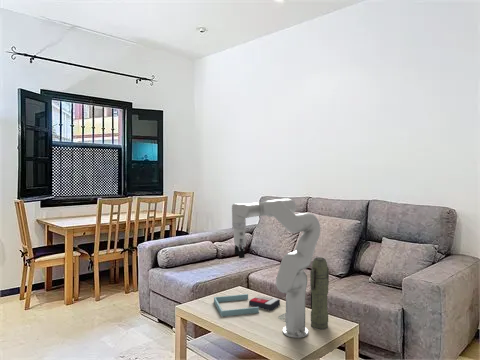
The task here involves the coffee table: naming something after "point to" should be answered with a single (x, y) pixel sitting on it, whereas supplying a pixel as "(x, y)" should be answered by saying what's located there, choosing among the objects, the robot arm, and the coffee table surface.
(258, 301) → the calculator
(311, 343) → the coffee table surface
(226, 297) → the teal u-shaped piece
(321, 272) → the thermos
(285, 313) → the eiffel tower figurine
